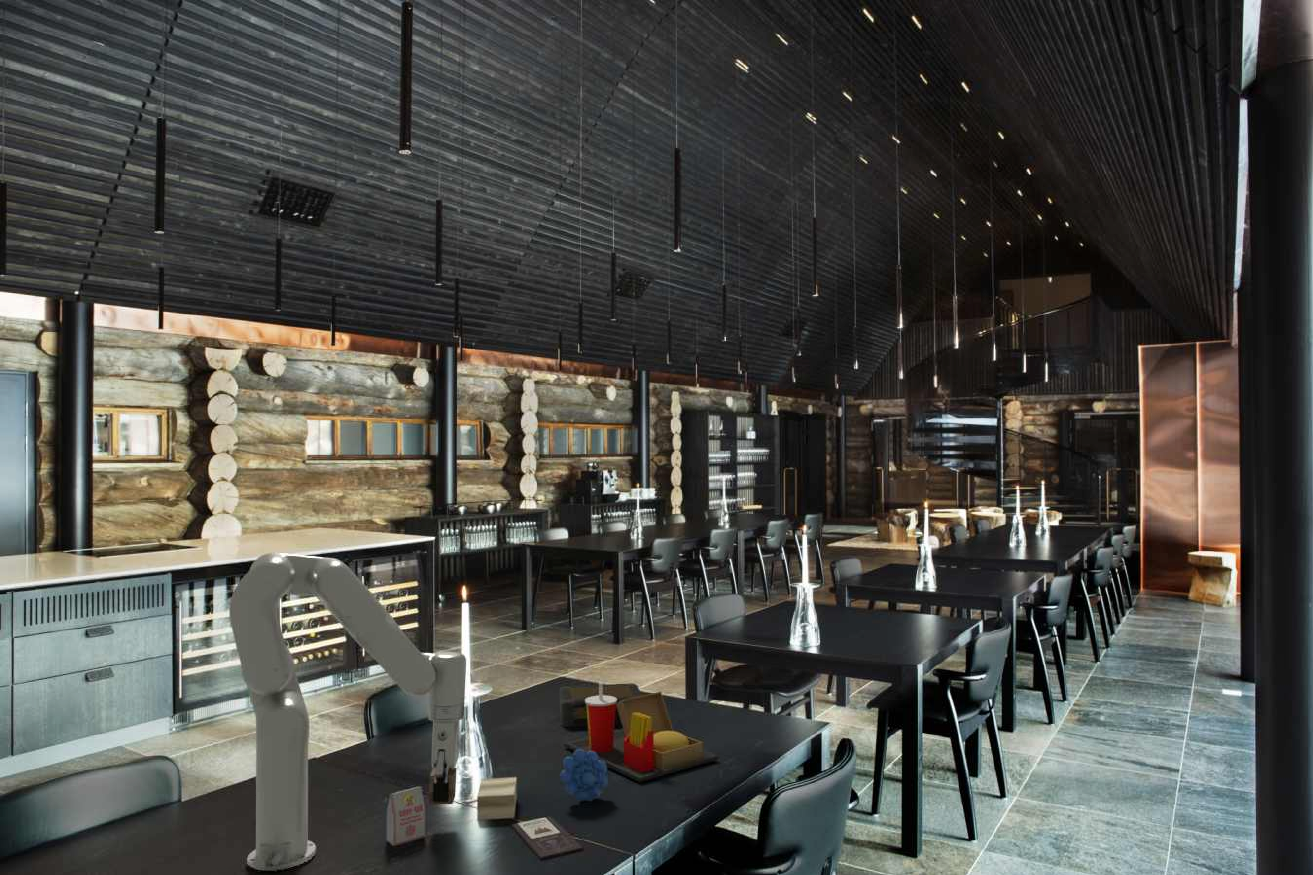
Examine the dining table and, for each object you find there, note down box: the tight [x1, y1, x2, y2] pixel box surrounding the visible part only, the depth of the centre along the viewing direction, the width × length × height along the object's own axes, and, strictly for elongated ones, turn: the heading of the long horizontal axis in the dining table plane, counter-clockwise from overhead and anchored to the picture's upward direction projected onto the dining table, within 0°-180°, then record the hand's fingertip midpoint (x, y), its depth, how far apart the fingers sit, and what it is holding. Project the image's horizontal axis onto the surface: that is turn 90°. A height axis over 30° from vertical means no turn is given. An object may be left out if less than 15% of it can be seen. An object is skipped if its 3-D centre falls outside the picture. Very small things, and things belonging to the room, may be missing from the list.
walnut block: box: [428, 767, 457, 805], centre depth 184 cm, size 5×5×6 cm
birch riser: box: [476, 776, 518, 821], centre depth 194 cm, size 11×8×5 cm
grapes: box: [559, 749, 609, 802], centre depth 197 cm, size 12×7×12 cm, turn 114°
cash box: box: [559, 683, 643, 728], centre depth 267 cm, size 25×20×8 cm
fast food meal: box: [564, 682, 719, 783], centre depth 230 cm, size 26×35×18 cm
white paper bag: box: [386, 785, 426, 847], centre depth 179 cm, size 4×7×10 cm, turn 129°
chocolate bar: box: [511, 815, 584, 861], centre depth 178 cm, size 9×1×18 cm
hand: (442, 795), depth 184 cm, fingers closed on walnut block, 5 cm apart
